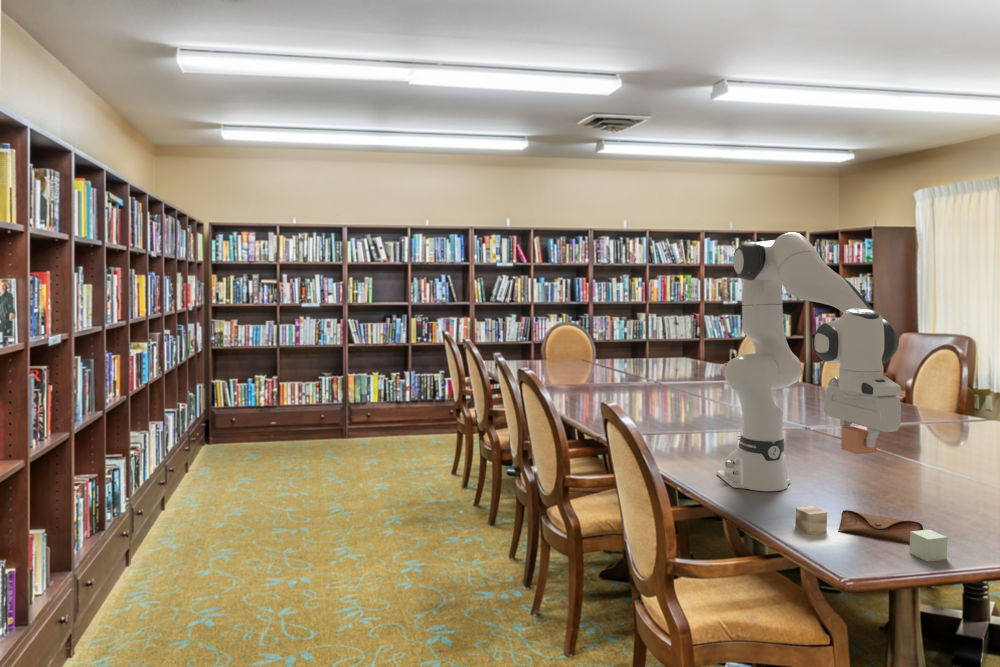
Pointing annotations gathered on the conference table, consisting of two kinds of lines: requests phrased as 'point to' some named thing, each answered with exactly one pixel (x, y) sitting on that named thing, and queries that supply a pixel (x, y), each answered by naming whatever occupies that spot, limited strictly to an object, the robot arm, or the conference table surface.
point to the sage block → (928, 545)
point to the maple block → (811, 520)
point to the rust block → (856, 440)
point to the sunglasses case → (877, 526)
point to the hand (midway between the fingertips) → (858, 443)
